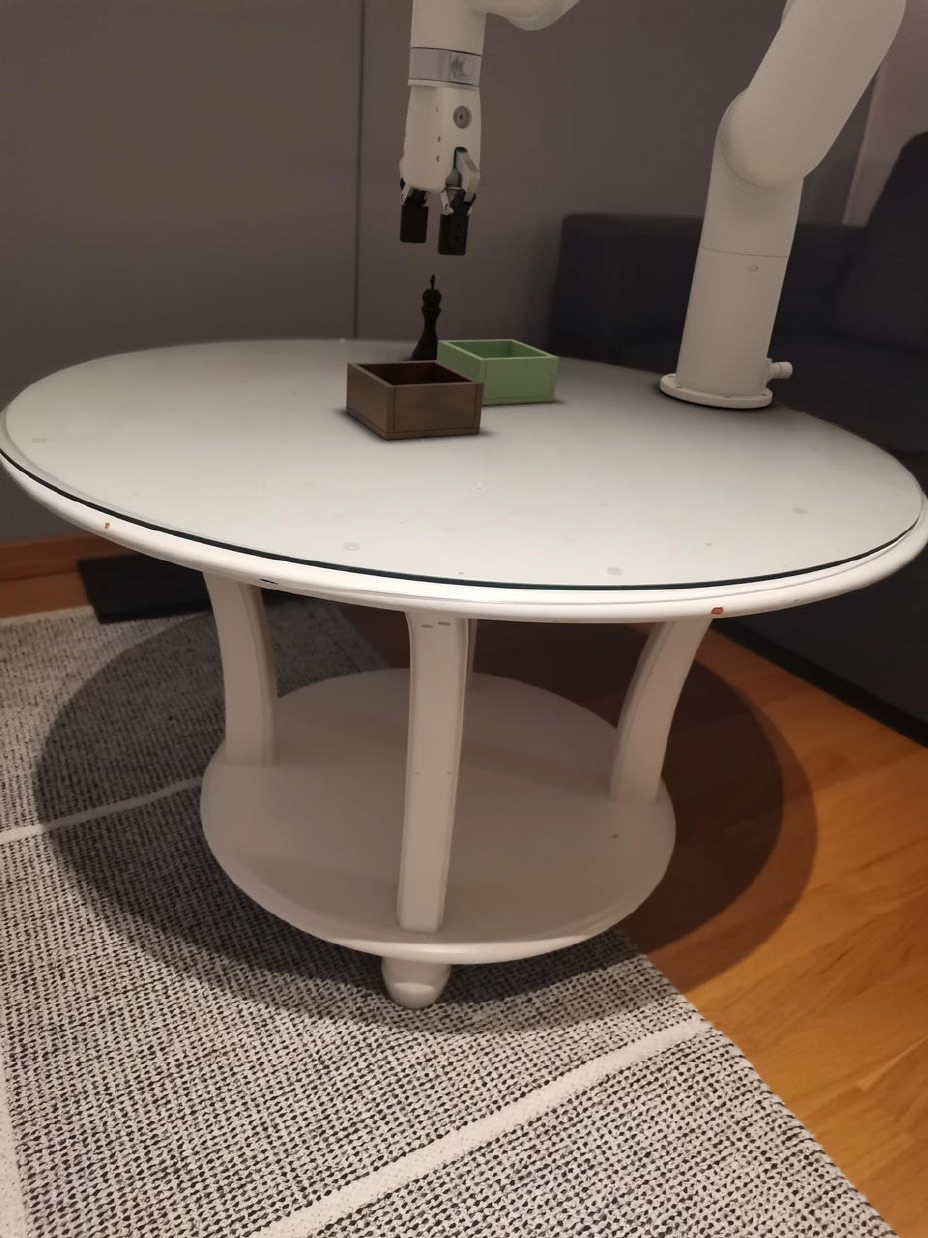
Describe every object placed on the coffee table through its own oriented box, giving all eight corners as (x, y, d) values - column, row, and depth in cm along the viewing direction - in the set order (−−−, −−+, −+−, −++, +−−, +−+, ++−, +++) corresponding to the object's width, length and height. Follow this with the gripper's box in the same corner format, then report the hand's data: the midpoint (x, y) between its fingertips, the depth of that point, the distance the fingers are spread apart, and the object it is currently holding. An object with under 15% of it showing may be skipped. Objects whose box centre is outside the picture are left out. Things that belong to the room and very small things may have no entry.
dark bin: (434, 406, 94) (437, 359, 92) (479, 433, 86) (484, 383, 84) (345, 411, 89) (346, 362, 87) (385, 439, 82) (388, 387, 80)
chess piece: (406, 365, 110) (411, 274, 105) (412, 357, 114) (417, 270, 109) (443, 369, 109) (450, 278, 105) (448, 361, 113) (454, 273, 109)
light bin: (508, 380, 107) (512, 338, 105) (553, 401, 100) (559, 357, 98) (434, 383, 103) (437, 340, 100) (476, 405, 95) (480, 359, 93)
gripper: (518, 78, 93) (498, 261, 101) (439, 77, 106) (427, 239, 114) (450, 68, 90) (435, 258, 97) (378, 69, 103) (370, 236, 111)
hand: (431, 248), depth 106 cm, fingers open, 9 cm apart
